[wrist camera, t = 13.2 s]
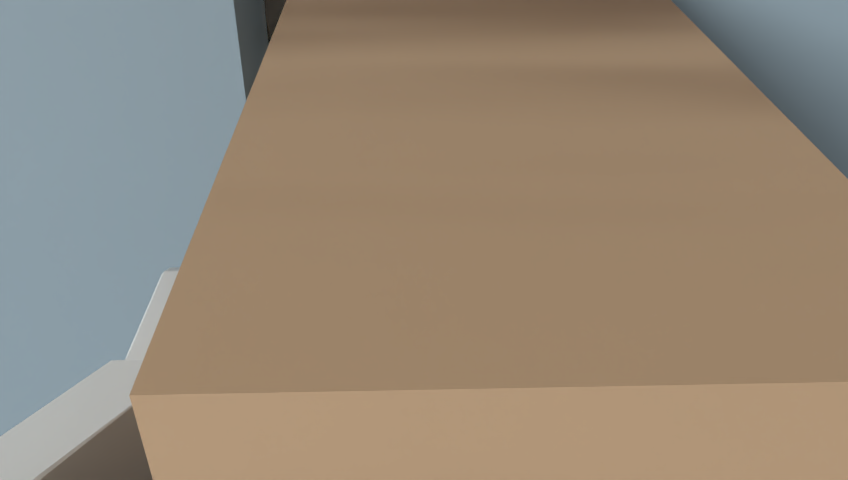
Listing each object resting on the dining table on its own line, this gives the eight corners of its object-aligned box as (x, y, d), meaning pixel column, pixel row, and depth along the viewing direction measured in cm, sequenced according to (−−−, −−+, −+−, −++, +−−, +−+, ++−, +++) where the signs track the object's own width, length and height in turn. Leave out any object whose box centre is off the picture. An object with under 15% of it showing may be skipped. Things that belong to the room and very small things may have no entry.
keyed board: (58, 453, 19) (-24, 632, 15) (-328, -607, 9) (-829, -834, 5) (788, 438, 20) (883, 607, 16) (1171, -576, 10) (1661, -760, 6)
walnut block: (306, -53, 10) (126, 396, 3) (617, -53, 10) (1042, 378, 3) (338, 359, 14) (284, 950, 7) (563, 356, 14) (716, 934, 7)
